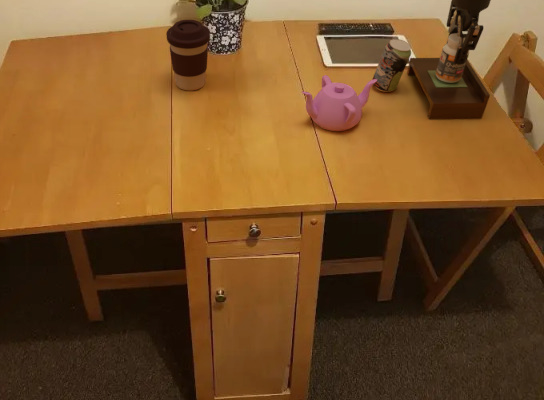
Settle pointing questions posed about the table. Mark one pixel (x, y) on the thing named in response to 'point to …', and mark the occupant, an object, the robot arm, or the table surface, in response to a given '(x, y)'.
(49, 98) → the table surface
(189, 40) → the coffee cup
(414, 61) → the shelf
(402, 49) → the beverage can
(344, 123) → the teapot
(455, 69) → the pill bottle
